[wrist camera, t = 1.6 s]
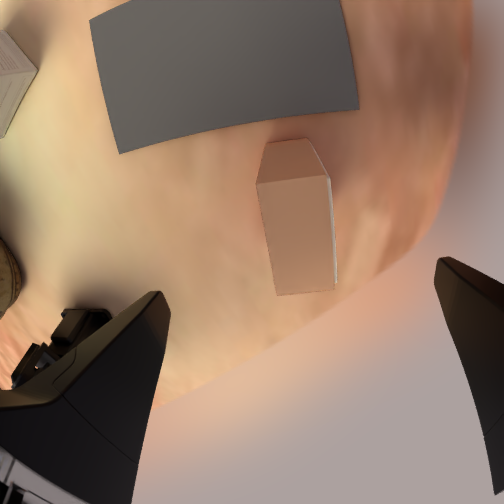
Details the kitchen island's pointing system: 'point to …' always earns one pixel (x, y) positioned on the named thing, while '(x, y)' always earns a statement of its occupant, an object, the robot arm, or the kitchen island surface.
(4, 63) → the supplement box
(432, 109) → the kitchen island surface
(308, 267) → the slab
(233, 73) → the mat
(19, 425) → the robot arm
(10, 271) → the ceramic vessel
